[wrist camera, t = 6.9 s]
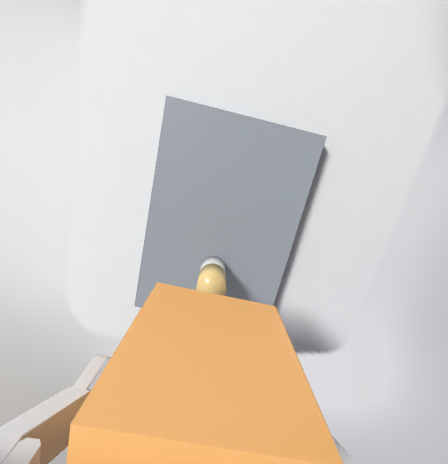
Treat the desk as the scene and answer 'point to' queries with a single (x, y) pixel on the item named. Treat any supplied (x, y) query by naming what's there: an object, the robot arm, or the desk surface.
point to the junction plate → (225, 202)
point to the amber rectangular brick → (202, 390)
